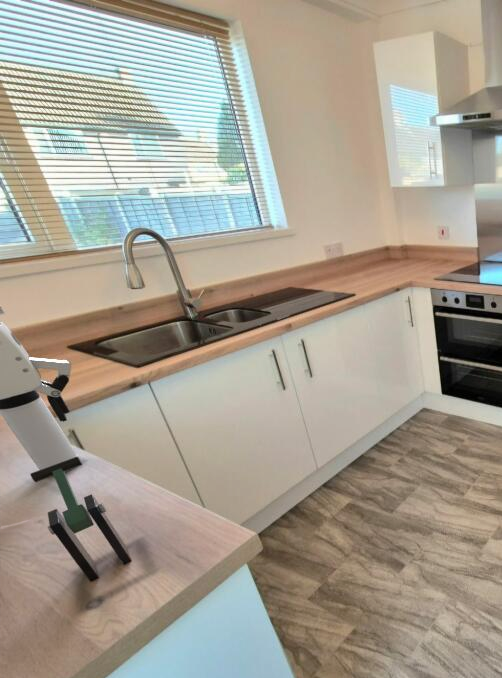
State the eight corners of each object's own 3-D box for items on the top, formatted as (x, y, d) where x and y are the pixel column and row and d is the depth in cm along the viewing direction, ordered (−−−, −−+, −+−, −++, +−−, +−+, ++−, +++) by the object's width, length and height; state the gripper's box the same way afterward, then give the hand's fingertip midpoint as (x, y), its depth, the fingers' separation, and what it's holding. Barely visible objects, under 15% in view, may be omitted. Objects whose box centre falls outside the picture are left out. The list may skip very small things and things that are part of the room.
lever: (35, 479, 67) (27, 470, 65) (81, 461, 70) (75, 452, 69) (59, 540, 61) (51, 532, 60) (108, 518, 65) (102, 510, 63)
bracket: (76, 569, 68) (32, 509, 63) (138, 539, 74) (102, 481, 68) (84, 606, 62) (35, 543, 57) (151, 570, 67) (112, 509, 62)
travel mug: (87, 455, 98) (39, 377, 89) (72, 471, 93) (19, 390, 84) (53, 462, 96) (0, 383, 88) (36, 479, 91) (-22, 397, 82)
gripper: (37, 302, 64) (92, 401, 72) (-158, 335, 53) (-68, 449, 60) (40, 310, 59) (98, 416, 67) (-173, 349, 48) (-74, 470, 56)
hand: (19, 431), depth 64 cm, fingers open, 9 cm apart
